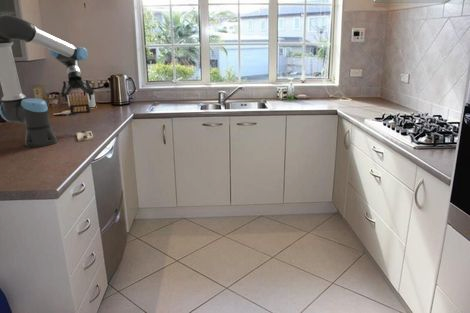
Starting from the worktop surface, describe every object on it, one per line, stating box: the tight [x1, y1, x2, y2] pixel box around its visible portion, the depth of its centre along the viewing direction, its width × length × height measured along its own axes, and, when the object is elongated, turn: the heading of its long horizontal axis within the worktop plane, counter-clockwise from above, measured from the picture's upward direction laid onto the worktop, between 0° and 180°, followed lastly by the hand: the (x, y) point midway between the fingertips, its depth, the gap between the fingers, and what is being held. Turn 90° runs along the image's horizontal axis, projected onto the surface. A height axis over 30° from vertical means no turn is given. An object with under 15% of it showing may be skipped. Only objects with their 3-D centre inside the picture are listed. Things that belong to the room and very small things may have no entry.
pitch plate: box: [76, 129, 95, 142], centre depth 215 cm, size 8×17×2 cm, turn 24°
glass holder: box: [77, 88, 97, 107], centre depth 314 cm, size 9×14×15 cm, turn 77°
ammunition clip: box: [68, 91, 91, 115], centre depth 224 cm, size 11×2×12 cm, turn 109°
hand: (79, 104), depth 222 cm, fingers closed on ammunition clip, 10 cm apart
